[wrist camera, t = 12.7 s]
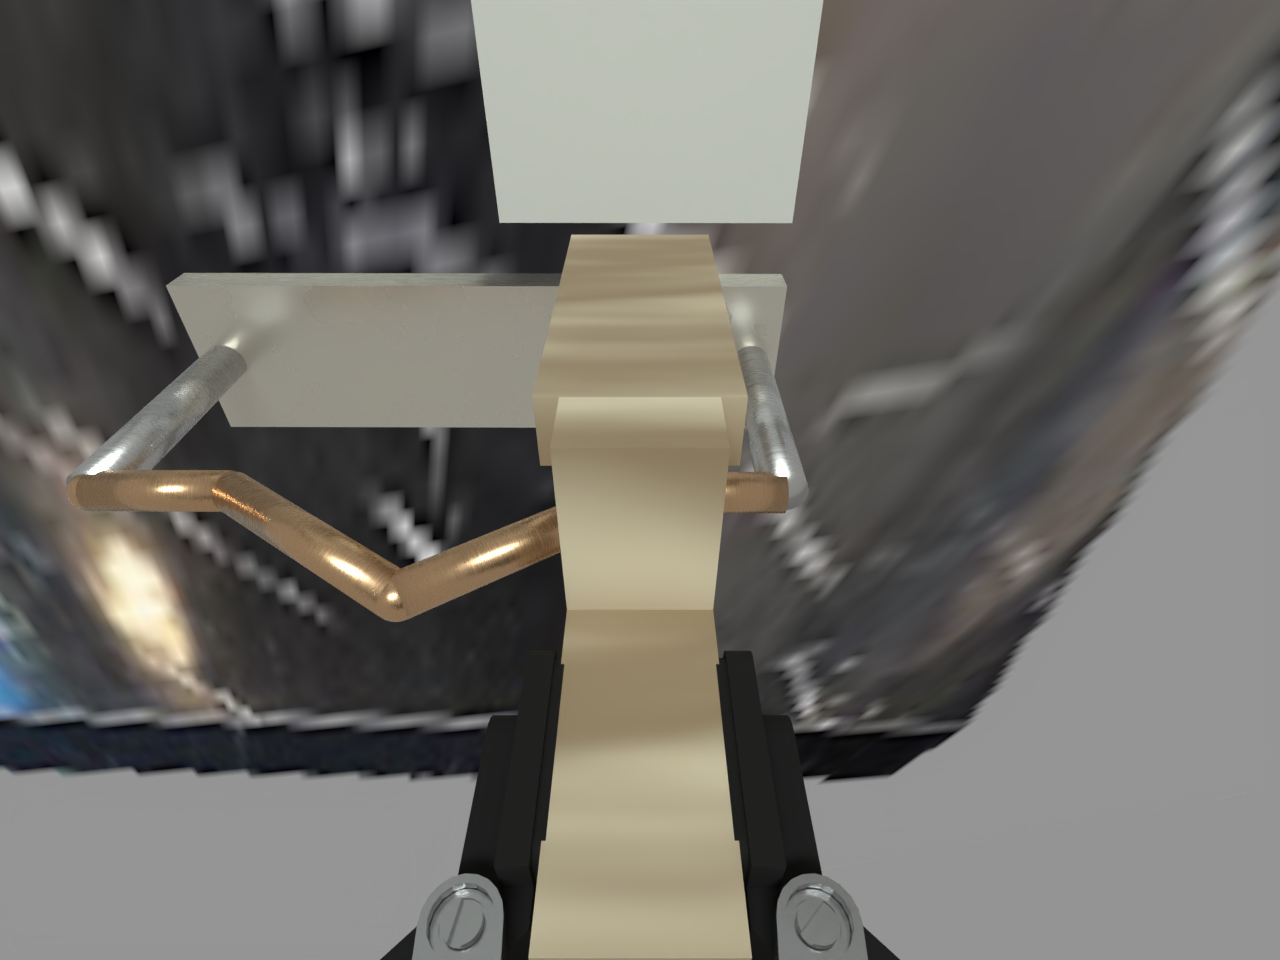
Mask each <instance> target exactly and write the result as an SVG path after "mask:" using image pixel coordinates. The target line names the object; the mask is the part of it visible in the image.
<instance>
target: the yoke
mask: <svg viewBox="0 0 1280 960" xmlns="http://www.w3.org/2000/svg"><path fill="white" fill-rule="evenodd" d="M532 400H533V409H534V417H535V425H536V434H537V442H538V450H539V459H540V466H552V472H553V482H554V491H555V501H556V510H557V520H558V529H559V539H560V548H561V558H562V567H563V577H564V586H565V596H566V605H567V614H566V623H565V632H564V641H563V650H562V659H561V664H564V673H563V682H562V691H561V701H560V710H559V720H558V729H557V739H556V748H555V758H554V767H553V776H552V786H551V795H550V805H549V814H548V824H547V833H546V841H541V849H540V858H539V867H538V876H537V885H536V894H535V903H534V912H533V921H532V930H531V939H530V948H529V957H528V959H529V960H752V953H751V944H750V935H749V926H748V918H747V909H746V900H745V891H744V882H743V873H742V864H741V855H740V846H739V841H735V840H734V830H733V821H732V811H731V802H730V793H729V783H728V774H727V764H726V755H725V745H724V736H723V726H722V717H721V707H720V698H719V689H718V679H717V670H716V664H719V658H718V649H717V640H716V631H715V622H714V613H713V607H714V597H715V588H716V578H717V569H718V559H719V550H720V540H721V531H722V521H723V512H724V502H725V493H726V484H727V474H728V466H740V460H741V452H742V443H743V435H744V426H745V418H746V410H747V401H748V395H747V391H746V387H745V383H744V378H743V374H742V370H741V366H740V362H739V358H738V354H737V350H736V346H735V342H734V337H733V333H732V329H731V325H730V321H729V317H728V313H727V309H726V305H725V300H724V296H723V292H722V288H721V284H720V280H719V276H718V272H717V268H716V263H715V259H714V255H713V251H712V247H711V243H710V239H709V235H571V239H570V243H569V247H568V251H567V255H566V259H565V263H564V268H563V272H562V276H561V280H560V284H559V288H558V292H557V297H556V301H555V305H554V309H553V313H552V317H551V321H550V325H549V330H548V334H547V338H546V342H545V346H544V350H543V354H542V358H541V363H540V367H539V371H538V375H537V379H536V383H535V387H534V391H533V396H532Z"/></svg>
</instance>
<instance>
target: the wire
mask: <svg viewBox="0 0 1280 960" xmlns="http://www.w3.org/2000/svg"><path fill="white" fill-rule="evenodd" d="M561 276H562V274H549V273H183V274H182V275H180V276H179V277H178V278H176V279H175V280H173V281H172V282H170V283H169V284H167V285H166V287H167V289H168V292H169V294H170V296H171V298H172V300H173V302H174V304H175V307H176V309H177V311H178V313H179V315H180V317H181V320H182V322H183V324H184V326H185V328H186V330H187V333H188V335H189V337H190V339H191V341H192V343H193V346H194V348H195V350H196V352H197V354H198V356H199V358H198V359H197V360H196V361H195V362H194V363H193V364H192V365H191V366H190V367H188V368H187V369H186V370H185V371H184V372H183V373H182V374H181V375H180V376H178V377H177V378H176V379H175V380H174V381H173V382H172V383H171V384H170V385H168V386H167V387H166V388H165V389H164V390H163V391H162V392H161V393H160V394H158V395H157V396H156V397H155V398H154V399H153V400H152V401H151V402H150V403H148V404H147V405H146V406H145V407H144V408H143V409H142V410H141V411H140V412H138V413H137V414H136V415H135V416H134V417H133V418H132V419H131V420H129V421H128V422H127V423H126V424H125V425H124V426H123V427H122V428H121V429H119V430H118V431H117V432H116V433H115V434H114V435H113V436H112V437H111V438H109V439H108V440H107V441H106V442H105V443H104V444H103V445H102V446H101V447H99V448H98V449H97V450H96V451H95V452H94V453H93V454H92V455H91V456H89V457H88V458H87V459H86V460H85V461H84V462H83V463H82V464H81V465H79V466H78V467H77V468H76V469H75V470H74V471H73V472H72V473H71V474H69V475H68V477H67V478H66V485H67V486H66V495H67V498H68V500H69V501H70V502H71V503H72V504H73V505H74V506H75V507H77V508H79V509H82V510H85V511H153V512H223V513H225V514H226V515H228V516H229V517H231V518H232V519H234V520H235V521H237V522H238V523H240V524H241V525H243V526H244V527H246V528H247V529H249V530H250V531H252V532H253V533H255V534H256V535H258V536H259V537H261V538H262V539H264V540H265V541H267V542H268V543H270V544H271V545H273V546H274V547H276V548H277V549H279V550H280V551H282V552H283V553H285V554H286V555H288V556H289V557H291V558H292V559H294V560H295V561H297V562H298V563H300V564H301V565H303V566H304V567H306V568H307V569H309V570H310V571H312V572H313V573H315V574H316V575H318V576H319V577H321V578H322V579H324V580H325V581H327V582H328V583H330V584H331V585H333V586H334V587H336V588H337V589H339V590H340V591H342V592H343V593H345V594H346V595H348V596H349V597H351V598H352V599H354V600H355V601H357V602H358V603H360V604H361V605H363V606H364V607H366V608H367V609H369V610H370V611H372V612H373V613H375V614H376V615H378V616H379V617H381V618H382V619H384V620H386V621H390V622H401V621H405V620H407V619H410V618H412V617H414V616H417V615H419V614H421V613H423V612H426V611H428V610H430V609H432V608H435V607H437V606H439V605H442V604H444V603H446V602H448V601H451V600H453V599H455V598H458V597H460V596H462V595H464V594H467V593H469V592H471V591H473V590H476V589H478V588H480V587H483V586H485V585H487V584H489V583H492V582H494V581H496V580H499V579H501V578H503V577H505V576H508V575H510V574H512V573H514V572H517V571H519V570H521V569H524V568H526V567H528V566H530V565H533V564H535V563H537V562H539V561H542V560H544V559H546V558H549V557H551V556H553V555H555V554H558V553H560V552H561V548H560V539H559V529H558V520H557V510H556V506H555V507H552V508H550V509H547V510H545V511H542V512H540V513H537V514H535V515H532V516H530V517H527V518H525V519H522V520H520V521H518V522H515V523H513V524H510V525H508V526H505V527H503V528H500V529H498V530H495V531H493V532H490V533H488V534H485V535H483V536H480V537H478V538H475V539H473V540H470V541H468V542H466V543H463V544H461V545H458V546H456V547H453V548H451V549H448V550H446V551H443V552H441V553H438V554H436V555H433V556H431V557H428V558H426V559H423V560H421V561H418V562H416V563H413V564H411V565H409V566H406V567H404V568H399V567H398V566H396V565H394V564H393V563H391V562H389V561H388V560H386V559H384V558H383V557H381V556H379V555H378V554H376V553H374V552H373V551H371V550H370V549H368V548H366V547H365V546H363V545H361V544H360V543H358V542H356V541H355V540H353V539H351V538H350V537H348V536H346V535H345V534H343V533H341V532H340V531H338V530H336V529H335V528H333V527H331V526H330V525H328V524H327V523H325V522H323V521H322V520H320V519H318V518H317V517H315V516H313V515H312V514H310V513H308V512H307V511H305V510H303V509H302V508H300V507H298V506H297V505H295V504H293V503H292V502H290V501H289V500H287V499H285V498H284V497H282V496H280V495H279V494H277V493H275V492H274V491H272V490H270V489H269V488H267V487H265V486H264V485H262V484H260V483H259V482H257V481H255V480H254V479H252V478H250V477H249V476H247V475H246V474H244V473H241V472H235V471H233V470H152V469H153V468H154V467H155V466H156V465H157V464H158V463H159V462H160V460H161V459H162V458H163V457H164V456H165V455H166V454H167V453H168V452H169V451H170V450H171V449H172V448H173V447H174V446H175V445H176V444H177V443H178V442H179V441H180V440H181V439H182V438H183V437H184V436H185V434H186V433H187V432H188V431H189V430H190V429H191V428H192V427H193V426H194V425H195V424H196V423H197V422H198V421H199V420H200V419H201V418H202V417H203V416H204V415H205V414H206V413H207V412H208V411H209V410H210V409H211V407H212V406H213V405H214V404H215V403H216V402H217V401H218V400H219V402H220V404H221V406H222V408H223V411H224V413H225V415H226V417H227V419H228V421H229V423H230V426H231V427H505V428H536V425H535V417H534V409H533V400H532V396H533V391H534V387H535V383H536V379H537V375H538V371H539V367H540V363H541V358H542V354H543V350H544V346H545V342H546V338H547V334H548V330H549V325H550V321H551V317H552V313H553V309H554V305H555V301H556V297H557V292H558V288H559V284H560V280H561ZM718 276H719V280H720V284H721V288H722V292H723V296H724V300H725V305H726V309H727V313H728V317H729V321H730V325H731V329H732V333H733V337H734V342H735V346H736V350H737V354H738V358H739V362H740V366H741V370H742V374H743V378H744V383H745V387H746V391H747V395H748V401H747V410H746V418H745V426H744V428H745V430H746V435H747V439H748V444H749V449H750V453H751V458H752V463H753V467H754V472H728V474H727V484H726V493H725V502H724V512H723V513H786V511H787V510H791V509H793V508H796V507H797V506H799V505H800V504H802V503H803V502H804V501H805V499H806V498H807V496H808V492H809V487H808V484H807V481H806V477H805V474H804V471H803V468H802V464H801V461H800V458H799V455H798V452H797V448H796V445H795V442H794V439H793V436H792V432H791V429H790V426H789V423H788V420H787V416H786V413H785V410H784V407H783V403H782V400H781V397H780V394H779V391H778V387H777V384H776V381H775V378H774V375H775V368H776V361H777V354H778V347H779V340H780V333H781V326H782V319H783V312H784V305H785V298H786V291H787V285H786V283H785V281H784V278H783V276H782V274H718Z"/></svg>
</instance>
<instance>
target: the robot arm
mask: <svg viewBox="0 0 1280 960" xmlns="http://www.w3.org/2000/svg"><path fill="white" fill-rule="evenodd" d="M561 659H562V658H557V652H556V651H529V653H528V656H527V662H526V668H525V674H524V680H523V687H522V693H521V699H520V705H519V712H518V715H492V716H491V718H490V720H489V723H488V726H487V730H486V735H485V740H484V745H483V750H482V755H481V761H480V766H479V771H478V776H477V781H476V786H475V791H474V796H473V801H472V806H471V811H470V816H469V821H468V826H467V832H466V837H465V842H464V847H463V852H462V857H461V862H460V867H459V872H458V875H457V876H454V877H451V878H450V879H448V880H446V881H445V882H443V883H441V884H440V885H439V886H438V887H437V888H436V889H435V890H434V891H433V892H432V893H431V894H430V895H429V897H428V899H427V900H426V902H425V904H424V906H423V907H422V909H421V912H420V916H419V919H418V923H417V926H416V927H415V928H414V929H413V930H412V931H411V932H410V933H409V934H408V935H406V936H405V937H404V938H403V939H402V940H401V941H400V942H399V943H398V944H397V945H396V946H394V947H393V948H392V949H391V950H390V951H389V952H388V953H387V954H386V955H385V956H383V957H382V958H381V959H380V960H529V959H528V957H529V948H530V939H531V930H532V921H533V912H534V903H535V894H536V885H537V876H538V867H539V858H540V849H541V841H546V833H547V824H548V814H549V805H550V795H551V786H552V776H553V767H554V758H555V748H556V739H557V729H558V720H559V710H560V701H561V691H562V682H563V673H564V664H561ZM716 670H717V679H718V689H719V698H720V707H721V717H722V726H723V736H724V745H725V755H726V764H727V774H728V783H729V793H730V802H731V811H732V821H733V830H734V840H735V841H739V846H740V855H741V864H742V873H743V882H744V891H745V900H746V909H747V918H748V926H749V935H750V944H751V953H752V960H900V959H899V958H898V957H897V956H896V955H895V954H894V953H892V952H891V951H890V950H889V949H888V948H887V947H886V946H885V945H884V944H882V943H881V942H880V941H879V940H878V939H877V938H876V937H875V936H874V935H873V934H872V933H870V932H869V931H868V930H867V929H866V928H865V927H864V926H863V923H862V919H861V916H860V912H859V909H858V907H857V906H856V904H855V902H854V900H853V899H852V897H851V895H850V894H849V893H848V892H847V891H846V890H845V889H844V888H843V887H842V886H841V885H840V884H839V883H837V882H835V881H834V880H832V879H830V878H829V877H826V876H823V875H822V871H821V866H820V861H819V855H818V850H817V845H816V840H815V835H814V830H813V825H812V820H811V815H810V810H809V805H808V800H807V795H806V790H805V784H804V779H803V774H802V769H801V764H800V759H799V754H798V749H797V744H796V739H795V734H794V729H793V725H792V722H791V719H790V717H789V716H788V715H762V710H761V703H760V697H759V691H758V685H757V678H756V672H755V666H754V660H753V655H752V652H751V651H724V653H723V658H719V664H716Z"/></svg>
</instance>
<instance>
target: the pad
mask: <svg viewBox="0 0 1280 960" xmlns="http://www.w3.org/2000/svg"><path fill="white" fill-rule="evenodd" d="M471 5H472V13H473V21H474V28H475V36H476V44H477V52H478V59H479V67H480V75H481V83H482V90H483V98H484V106H485V114H486V121H487V129H488V137H489V145H490V152H491V160H492V168H493V176H494V183H495V191H496V199H497V207H498V214H499V222H500V223H792V222H793V214H794V207H795V200H796V193H797V186H798V179H799V171H800V164H801V157H802V150H803V143H804V136H805V129H806V121H807V114H808V107H809V100H810V93H811V86H812V78H813V71H814V64H815V57H816V50H817V43H818V36H819V28H820V21H821V14H822V7H823V0H471Z"/></svg>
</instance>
